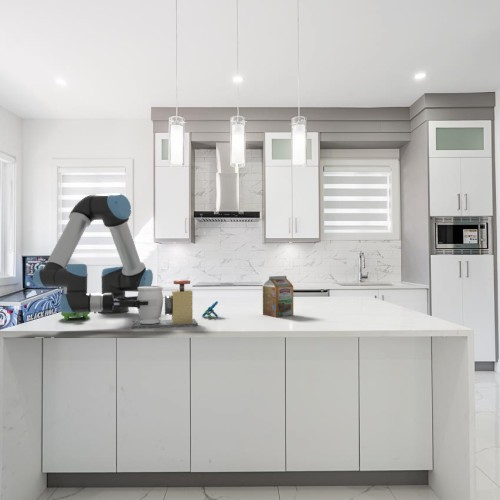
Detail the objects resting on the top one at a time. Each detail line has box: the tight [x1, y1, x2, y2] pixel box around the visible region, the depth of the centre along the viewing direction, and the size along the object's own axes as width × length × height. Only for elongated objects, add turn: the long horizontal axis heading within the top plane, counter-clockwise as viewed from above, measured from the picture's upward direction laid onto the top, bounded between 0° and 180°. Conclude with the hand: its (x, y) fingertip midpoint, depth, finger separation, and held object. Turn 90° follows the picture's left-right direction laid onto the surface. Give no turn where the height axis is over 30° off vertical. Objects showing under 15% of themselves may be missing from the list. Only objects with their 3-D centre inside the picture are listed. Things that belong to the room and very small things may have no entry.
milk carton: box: [262, 275, 294, 318], centre depth 190 cm, size 11×11×19 cm
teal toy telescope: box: [201, 301, 219, 319], centre depth 184 cm, size 11×6×10 cm
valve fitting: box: [131, 279, 199, 330], centre depth 164 cm, size 13×26×18 cm, turn 104°
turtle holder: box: [60, 311, 91, 322], centre depth 179 cm, size 12×18×12 cm
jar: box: [137, 285, 164, 324], centre depth 163 cm, size 11×10×15 cm
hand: (156, 300), depth 163 cm, fingers open, 13 cm apart
